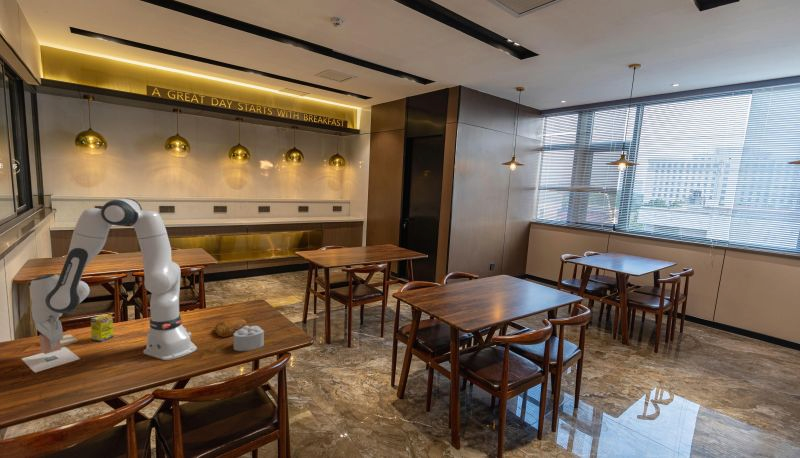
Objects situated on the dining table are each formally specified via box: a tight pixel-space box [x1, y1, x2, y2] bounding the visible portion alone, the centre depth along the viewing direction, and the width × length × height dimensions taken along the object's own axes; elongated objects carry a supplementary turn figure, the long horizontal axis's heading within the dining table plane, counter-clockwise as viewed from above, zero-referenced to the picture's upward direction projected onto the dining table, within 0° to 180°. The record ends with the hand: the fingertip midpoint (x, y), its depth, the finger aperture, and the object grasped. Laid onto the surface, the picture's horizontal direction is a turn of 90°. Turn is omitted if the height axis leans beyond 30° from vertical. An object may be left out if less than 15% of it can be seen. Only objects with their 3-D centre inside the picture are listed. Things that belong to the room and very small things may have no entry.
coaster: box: [60, 333, 78, 347], centre depth 167 cm, size 10×10×1 cm
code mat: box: [21, 346, 81, 373], centre depth 153 cm, size 18×14×1 cm
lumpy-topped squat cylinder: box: [233, 325, 265, 352], centre depth 173 cm, size 10×13×9 cm
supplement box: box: [90, 313, 114, 343], centre depth 172 cm, size 6×6×11 cm
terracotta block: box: [39, 333, 62, 354], centre depth 152 cm, size 5×5×7 cm
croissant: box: [214, 316, 248, 338], centre depth 188 cm, size 14×16×8 cm
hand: (50, 344), depth 152 cm, fingers closed on terracotta block, 5 cm apart
